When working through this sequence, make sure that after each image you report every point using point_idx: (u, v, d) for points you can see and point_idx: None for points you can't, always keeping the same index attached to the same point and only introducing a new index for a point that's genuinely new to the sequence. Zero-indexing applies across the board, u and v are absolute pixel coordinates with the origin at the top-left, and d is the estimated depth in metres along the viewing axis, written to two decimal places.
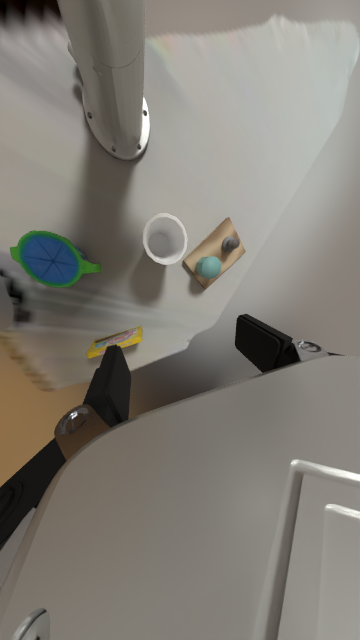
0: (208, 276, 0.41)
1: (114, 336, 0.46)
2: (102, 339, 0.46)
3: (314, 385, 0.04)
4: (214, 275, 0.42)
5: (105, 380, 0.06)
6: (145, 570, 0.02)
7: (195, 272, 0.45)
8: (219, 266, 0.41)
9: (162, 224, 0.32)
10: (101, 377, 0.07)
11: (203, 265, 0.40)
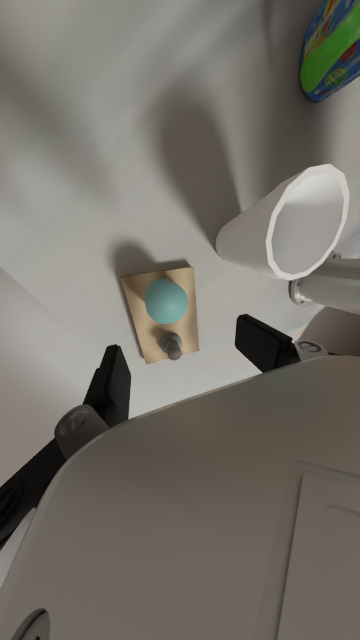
0: (156, 291, 0.19)
1: None
2: None
3: (314, 385, 0.04)
4: (150, 304, 0.19)
5: (105, 380, 0.06)
6: (145, 571, 0.02)
7: (164, 275, 0.23)
8: (161, 319, 0.21)
9: (281, 255, 0.19)
10: (101, 377, 0.07)
11: (181, 291, 0.20)
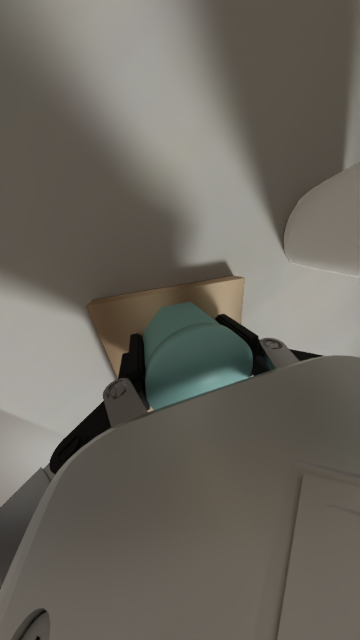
0: (176, 357, 0.06)
1: None
2: None
3: (314, 385, 0.04)
4: (159, 388, 0.07)
5: (137, 360, 0.07)
6: (145, 570, 0.02)
7: (184, 296, 0.11)
8: None
9: None
10: (132, 357, 0.08)
11: (242, 348, 0.07)
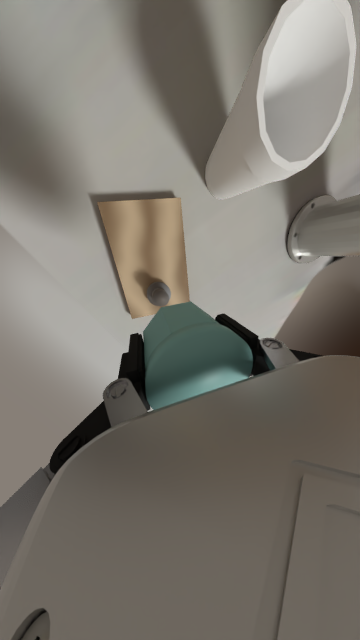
0: (176, 357, 0.06)
1: None
2: None
3: (314, 385, 0.04)
4: (159, 387, 0.07)
5: (136, 360, 0.07)
6: (145, 570, 0.02)
7: (147, 204, 0.21)
8: None
9: None
10: (132, 357, 0.08)
11: (242, 348, 0.07)
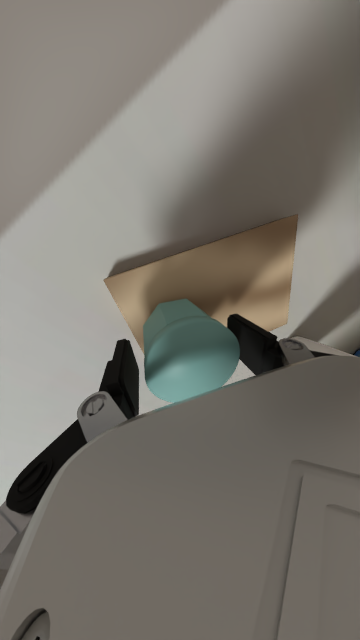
0: (171, 344, 0.07)
1: None
2: None
3: (314, 385, 0.04)
4: (156, 372, 0.08)
5: (119, 370, 0.07)
6: (145, 570, 0.02)
7: (286, 287, 0.16)
8: (179, 396, 0.09)
9: None
10: (115, 367, 0.07)
11: (229, 338, 0.08)
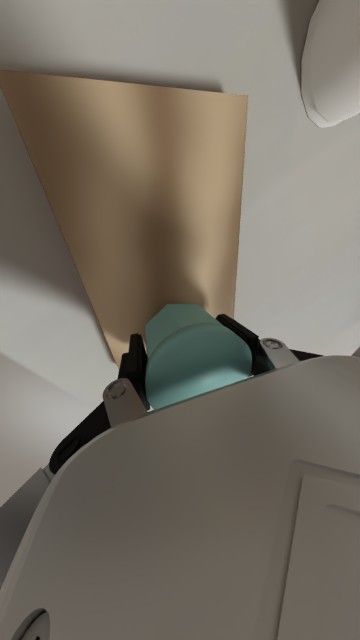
0: (164, 404, 0.08)
1: None
2: None
3: (314, 385, 0.04)
4: None
5: (136, 360, 0.07)
6: (145, 570, 0.02)
7: (159, 104, 0.07)
8: None
9: None
10: (132, 357, 0.08)
11: (178, 349, 0.06)
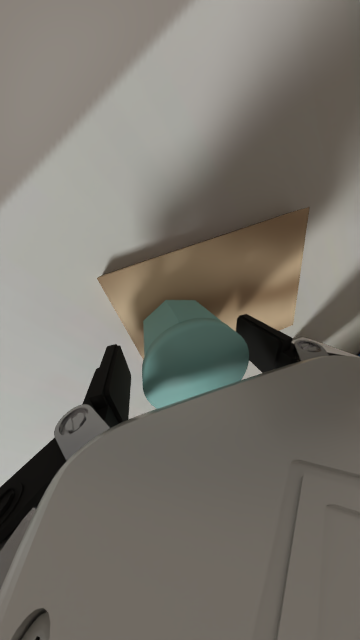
0: (161, 398, 0.08)
1: None
2: None
3: (314, 385, 0.04)
4: None
5: (105, 380, 0.06)
6: (145, 570, 0.02)
7: (294, 286, 0.15)
8: None
9: None
10: (101, 377, 0.07)
11: (176, 343, 0.06)
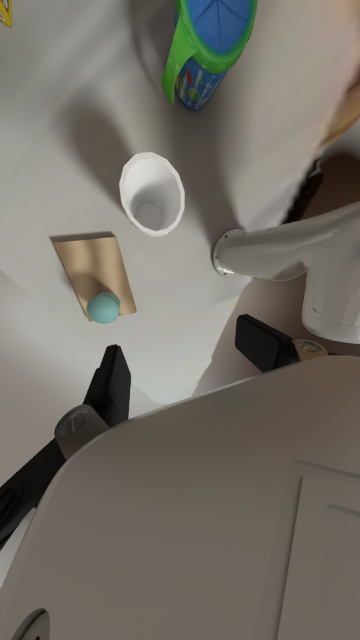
0: (108, 320, 0.31)
1: None
2: None
3: (314, 385, 0.04)
4: (114, 314, 0.31)
5: (105, 380, 0.06)
6: (145, 570, 0.02)
7: (90, 242, 0.29)
8: (110, 302, 0.30)
9: (168, 223, 0.26)
10: (101, 377, 0.07)
11: (90, 315, 0.30)
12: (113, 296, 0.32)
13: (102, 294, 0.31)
